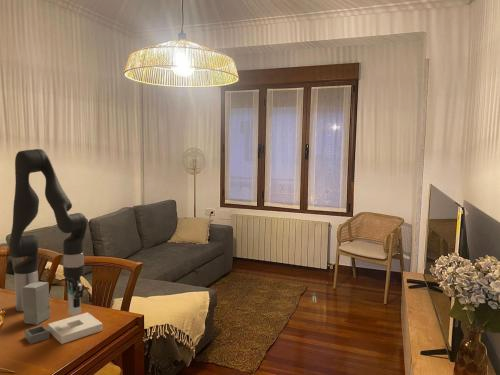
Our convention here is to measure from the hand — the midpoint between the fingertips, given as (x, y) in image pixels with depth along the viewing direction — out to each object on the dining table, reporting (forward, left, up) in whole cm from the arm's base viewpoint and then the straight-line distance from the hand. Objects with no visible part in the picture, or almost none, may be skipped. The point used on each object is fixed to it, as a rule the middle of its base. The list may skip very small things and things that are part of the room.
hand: (74, 305), depth 157 cm
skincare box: (-20, -8, -11) cm, 24 cm away
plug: (0, 0, -3) cm, 3 cm away
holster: (-4, -13, -11) cm, 17 cm away
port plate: (0, 0, -11) cm, 11 cm away
